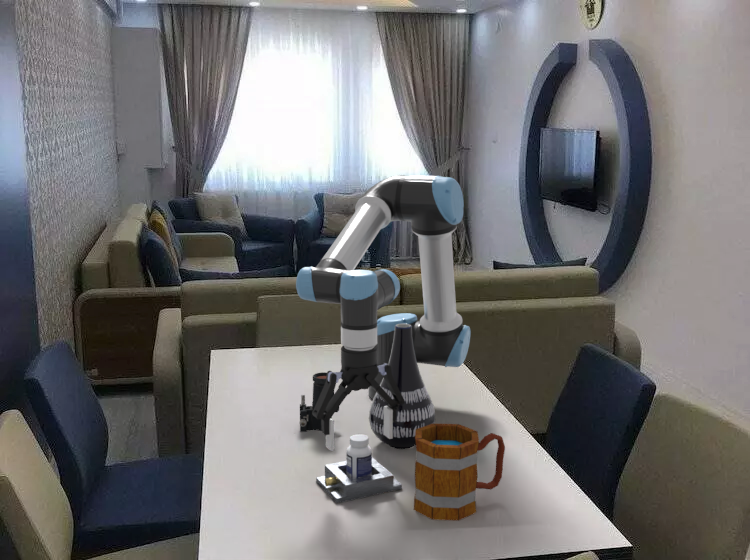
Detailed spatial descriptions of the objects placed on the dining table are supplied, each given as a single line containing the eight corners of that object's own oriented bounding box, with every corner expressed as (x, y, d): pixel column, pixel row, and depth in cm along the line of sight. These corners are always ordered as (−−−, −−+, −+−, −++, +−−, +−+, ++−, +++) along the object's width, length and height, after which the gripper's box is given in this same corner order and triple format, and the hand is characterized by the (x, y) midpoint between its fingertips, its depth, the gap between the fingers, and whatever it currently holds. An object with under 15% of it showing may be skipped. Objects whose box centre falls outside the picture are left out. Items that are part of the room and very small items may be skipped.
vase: (388, 462, 182) (389, 337, 176) (357, 438, 195) (357, 321, 190) (447, 449, 189) (450, 329, 183) (413, 427, 203) (415, 314, 197)
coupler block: (378, 469, 178) (378, 454, 177) (401, 489, 168) (402, 473, 168) (316, 481, 171) (316, 466, 171) (336, 503, 162) (336, 487, 161)
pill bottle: (375, 477, 171) (375, 434, 169) (366, 487, 166) (367, 443, 164) (351, 473, 173) (351, 431, 171) (342, 484, 168) (342, 440, 166)
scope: (299, 371, 203) (338, 370, 204) (299, 422, 205) (338, 421, 206) (298, 381, 195) (339, 380, 196) (299, 434, 197) (339, 433, 198)
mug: (426, 525, 153) (428, 452, 150) (401, 495, 165) (402, 426, 163) (517, 511, 159) (520, 440, 156) (487, 482, 172) (489, 416, 169)
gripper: (403, 333, 173) (403, 425, 177) (295, 348, 162) (297, 446, 166) (420, 342, 166) (419, 438, 170) (309, 358, 155) (311, 460, 160)
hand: (359, 442), depth 168 cm, fingers open, 13 cm apart
